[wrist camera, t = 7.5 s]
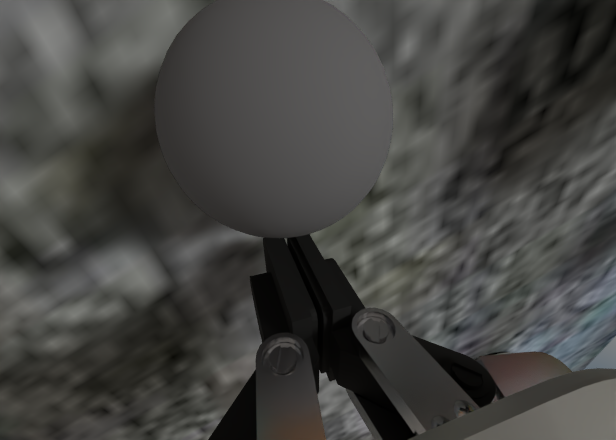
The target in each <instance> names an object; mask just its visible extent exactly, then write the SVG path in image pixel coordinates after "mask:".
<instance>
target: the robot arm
mask: <svg viewBox="0 0 616 440" xmlns="http://www.w3.org/2000/svg"><path fill="white" fill-rule="evenodd" d="M263 245H264V254H265V262H266V271H267V273H263V274H259V275H254V276H250V283H251V289H252V295H253V301H254V306H255V311H256V316H257V320H258V325H259V330H260V334H261V339H262V344H261V345H260V347H259V349H258V351H257V355H256V370H255V371H254V373H253V374H252V376H251V377H250V379H249V380H248V382H247V383H246V385H245V386H244V388H243V389H242V390H241V392H240V393H239V395H238V396H237V398H236V399H235V401H234V402H233V404H232V405H231V407H230V408H229V410H228V411H227V413H226V414H225V416H224V417H223V419H222V420H221V422H220V423H219V424H218V426H217V427H216V429H215V430H214V432H213V433H212V435H211V436H210V438H209V439H208V440H326V438H325V433H324V428H323V422H322V417H321V412H320V406H319V401H318V396H317V394H318V392H319V370H320V372H321V373H324V372H326V373H327V376H328V378H329V381H332V380H335V379H336V381H337V384H338V385H340V386H342V387H344V388H346V391H347V393H348V395H349V397H350V399H351V401H352V402H353V404H354V406H355V407H356V409H357V411H358V412H359V414H360V416H361V417H362V419H363V421H364V422H365V424H366V426H367V427H368V429H369V431H370V432H371V434H372V436H373V437H374V439H375V440H616V369H600V368H597V369H586V370H580V371H575V372H572V371H571V370H570V369H569V368H568V367H567V366H566V365H565V364H563V363H562V362H561V361H560V360H558V359H556V358H555V357H553V356H551V355H548V354H545V353H543V352H524V353H508V352H505V353H498V354H495V355H486V356H479V357H478V359H476V360H474V359H472V358H470V357H468V356H466V355H463V354H461V353H458V352H455V351H453V350H450V349H447V348H445V347H442V346H439V345H437V344H434V343H431V342H429V341H426V340H423V339H420V338H418V337H415V336H412V335H411V334H410V333H409V332H408V331H407V330H406V329H405V328H404V327H403V326H402V324H401V323H400V322H399V321H398V320H397V319H396V318H395V317H394V316H392V315H391V314H390V313H388V312H386V311H384V310H382V309H378V308H365V307H364V305H363V304H362V302H361V301H360V299H359V297H358V296H357V294H356V293H355V291H354V290H353V288H352V286H351V285H350V283H349V282H348V280H347V279H346V277H345V276H344V274H343V272H342V271H341V269H340V268H339V266H338V265H337V263H336V261H335V260H334V259H333V258H330V259H326V260H324V258H323V257H322V255H321V253H320V252H319V250H318V248H317V247H316V245H315V243H314V241H313V240H312V238H311V236H310V235H309V234H307V235H303V236H298V237H291V238H287V244H286V242H285V239H284V238H266V237H265V238H263ZM287 245H288V246H287Z"/></svg>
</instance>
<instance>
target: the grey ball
mask: <svg viewBox="0 0 616 440" xmlns="http://www.w3.org/2000/svg"><path fill="white" fill-rule="evenodd" d="M154 109H155V123H156V132H157V136H158V140H159V144H160V147H161V150H162V153H163V156H164V159H165V161H166V163H167V166H168V168H169V170H170V171H171V173H172V175H173V176H174V178H175V179H176V181H177V183H178V184H179V186H180V187H181V189H182V190H183V191H184V192H185V194H186V195H187V196H188V197H189V198H190V199H191V200H192V201H193V202H194V203H195V204H196V205H197V206H198V207H199V208H200V209H201V210H202V211H204V212H205V213H206V214H208V215H209V216H211V217H212V218H214V219H215V220H217V221H218V222H220V223H222V224H224V225H226V226H228V227H230V228H232V229H235V230H237V231H240V232H243V233H246V234H249V235H253V236H258V237H266V238H291V237H298V236H303V235H307V234H310V233H314V232H316V231H319V230H322V229H324V228H326V227H328V226H330V225H332V224H334V223H335V222H337V221H339V220H340V219H342V218H343V217H345V216H346V215H347V214H348V213H350V212H351V211H352V210H353V209H354V208H355V207H356V206H357V205H358V204H359V203H360V202H361V201H362V200H363V199H364V197H365V196H366V195H367V194H368V193H369V191H370V190H371V188H372V187H373V186H374V184H375V182H376V180H377V179H378V177H379V175H380V173H381V170H382V168H383V166H384V163H385V161H386V159H387V155H388V151H389V148H390V143H391V137H392V130H393V104H392V96H391V91H390V87H389V83H388V80H387V76H386V73H385V69H384V67H383V65H382V63H381V61H380V59H379V57H378V55H377V53H376V51H375V49H374V47H373V46H372V44H371V43H370V41H369V40H368V38H367V37H366V36H365V34H364V33H363V32H362V31H361V30H360V29H359V28H358V27H357V26H356V25H355V24H354V23H353V22H352V21H351V20H350V19H349V18H348V16H346V15H345V14H344V13H342V12H341V11H340V10H338V9H337V8H336V7H334V6H333V5H331V4H329V3H327V2H325V1H323V0H217V1H215V2H213V3H212V4H210V5H208V6H207V7H205V8H203V9H202V10H201V11H200V12H199V13H197V14H196V15H195V16H194V17H193V18H192V19H190V20H189V21H188V23H187V24H186V25H185V26H184V27H183V28H182V30H181V31H180V32H179V33H178V34H177V36H176V37H175V39H174V41H173V42H172V44H171V46H170V47H169V49H168V51H167V53H166V56H165V58H164V61H163V63H162V66H161V69H160V72H159V76H158V81H157V85H156V90H155V105H154Z"/></svg>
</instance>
